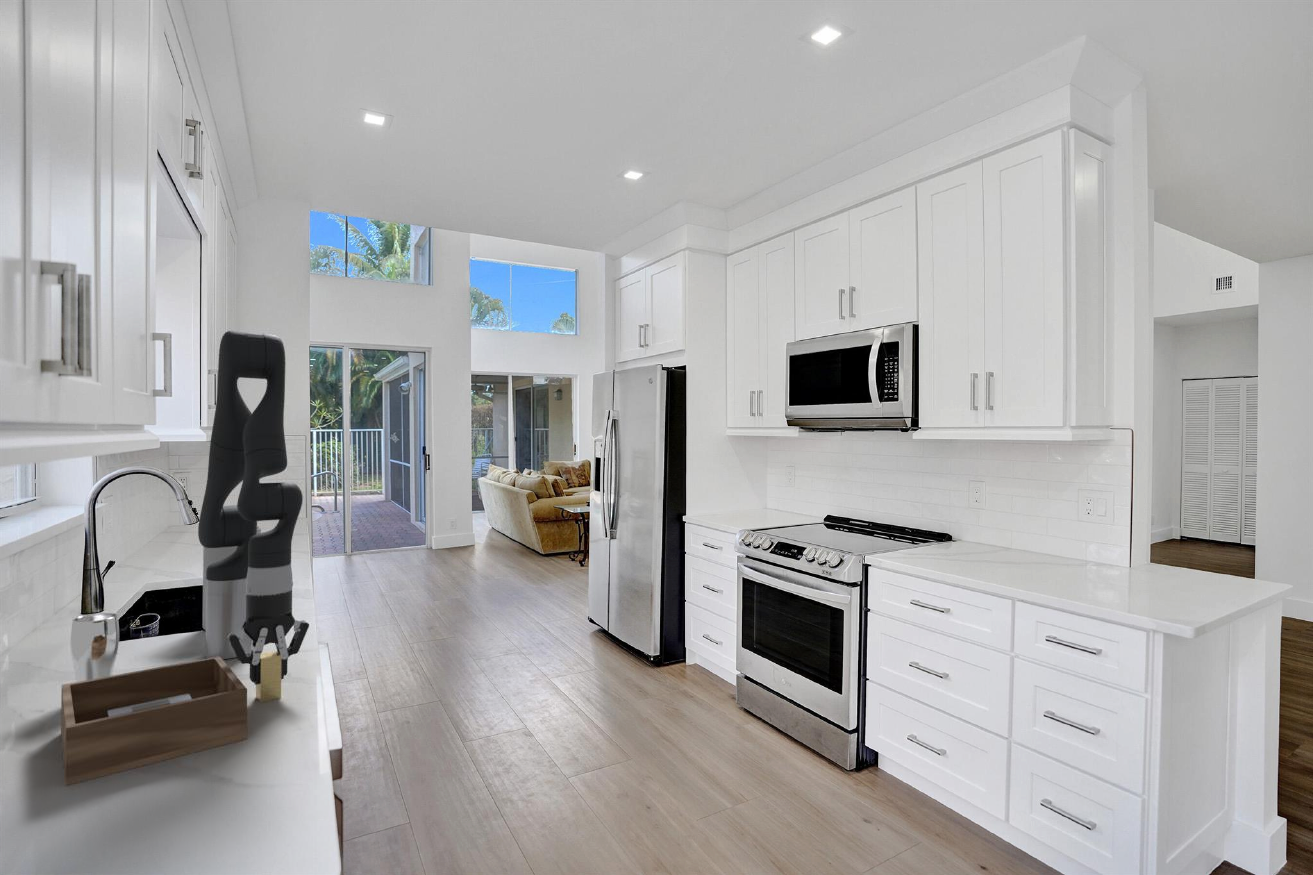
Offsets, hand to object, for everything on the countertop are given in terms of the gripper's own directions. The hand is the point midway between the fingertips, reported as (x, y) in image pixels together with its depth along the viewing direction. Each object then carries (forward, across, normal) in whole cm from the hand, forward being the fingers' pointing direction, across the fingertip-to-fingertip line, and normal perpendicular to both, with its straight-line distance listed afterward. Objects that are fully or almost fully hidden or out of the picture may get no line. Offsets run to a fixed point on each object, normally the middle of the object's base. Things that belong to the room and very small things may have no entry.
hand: (268, 680), depth 126 cm
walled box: (+3, +18, +6) cm, 19 cm away
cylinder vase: (+3, -5, -59) cm, 59 cm away
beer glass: (+3, +24, -21) cm, 32 cm away
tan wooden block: (+3, 0, 0) cm, 3 cm away
